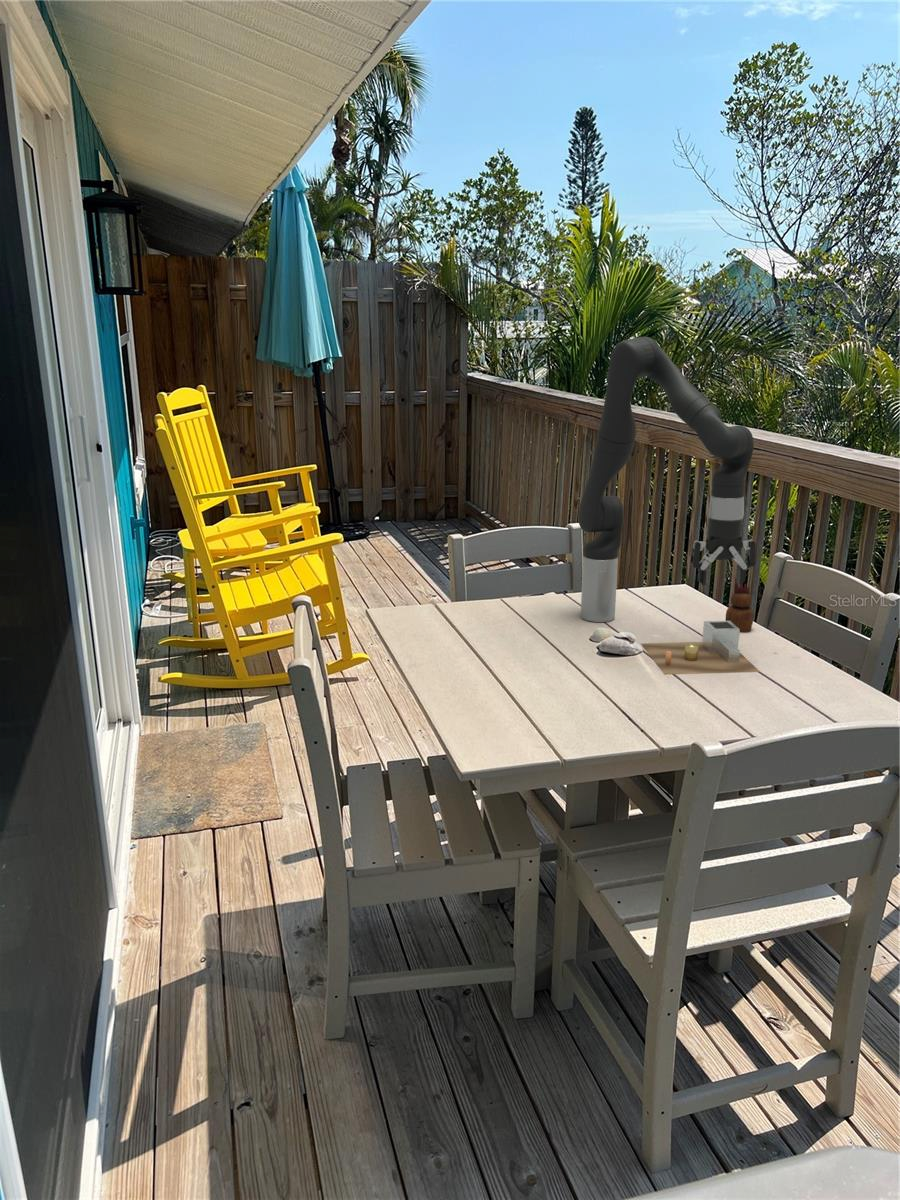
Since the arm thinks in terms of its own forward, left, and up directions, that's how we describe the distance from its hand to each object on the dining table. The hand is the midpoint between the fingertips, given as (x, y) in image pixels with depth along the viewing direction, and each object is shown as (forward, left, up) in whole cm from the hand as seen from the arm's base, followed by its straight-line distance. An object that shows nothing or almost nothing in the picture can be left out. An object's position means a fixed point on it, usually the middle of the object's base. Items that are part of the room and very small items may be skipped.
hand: (720, 584), depth 206 cm
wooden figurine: (-17, +12, -19) cm, 28 cm away
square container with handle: (0, +2, -17) cm, 17 cm away
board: (+2, -5, -19) cm, 19 cm away
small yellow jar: (+3, -7, -17) cm, 19 cm away
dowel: (+6, -13, -17) cm, 22 cm away
